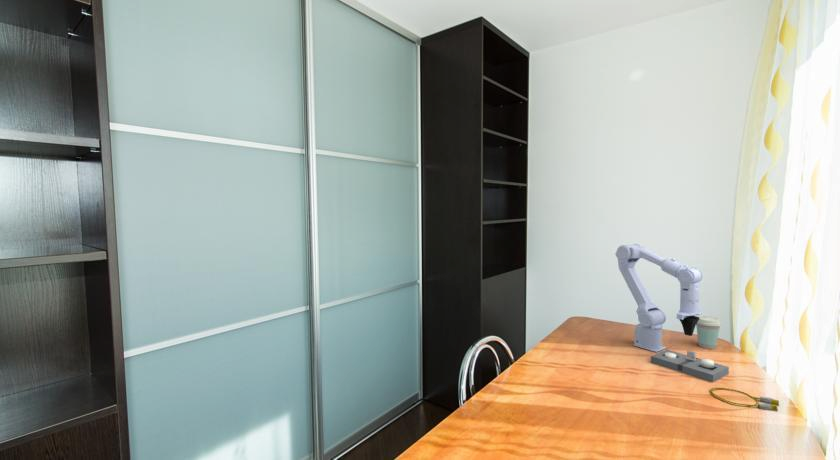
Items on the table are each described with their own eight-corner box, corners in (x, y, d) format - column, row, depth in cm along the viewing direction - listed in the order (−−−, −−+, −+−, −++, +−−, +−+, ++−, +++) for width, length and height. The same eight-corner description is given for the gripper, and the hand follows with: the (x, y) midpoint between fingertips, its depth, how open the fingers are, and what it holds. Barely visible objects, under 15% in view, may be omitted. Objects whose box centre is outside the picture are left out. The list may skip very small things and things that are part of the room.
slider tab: (685, 358, 141) (685, 351, 141) (688, 357, 142) (688, 349, 142) (694, 361, 139) (694, 353, 138) (697, 359, 140) (697, 352, 140)
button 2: (699, 365, 135) (699, 359, 135) (704, 363, 137) (704, 357, 137) (711, 368, 132) (711, 363, 132) (715, 366, 134) (716, 360, 133)
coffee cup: (711, 343, 164) (712, 315, 163) (725, 350, 156) (725, 321, 155) (690, 343, 165) (690, 315, 164) (702, 350, 156) (703, 321, 156)
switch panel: (650, 362, 145) (650, 355, 145) (667, 355, 151) (667, 349, 151) (712, 382, 128) (713, 375, 128) (728, 373, 134) (728, 366, 134)
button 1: (662, 358, 145) (662, 353, 145) (667, 356, 147) (667, 351, 147) (673, 361, 142) (673, 356, 142) (678, 359, 144) (678, 354, 144)
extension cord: (766, 419, 106) (766, 412, 106) (702, 395, 120) (702, 389, 120) (785, 408, 112) (785, 401, 112) (722, 386, 126) (722, 380, 126)
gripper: (691, 304, 139) (691, 341, 140) (710, 299, 147) (709, 334, 147) (670, 300, 145) (670, 336, 146) (689, 295, 153) (688, 329, 153)
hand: (688, 335), depth 147 cm, fingers closed
